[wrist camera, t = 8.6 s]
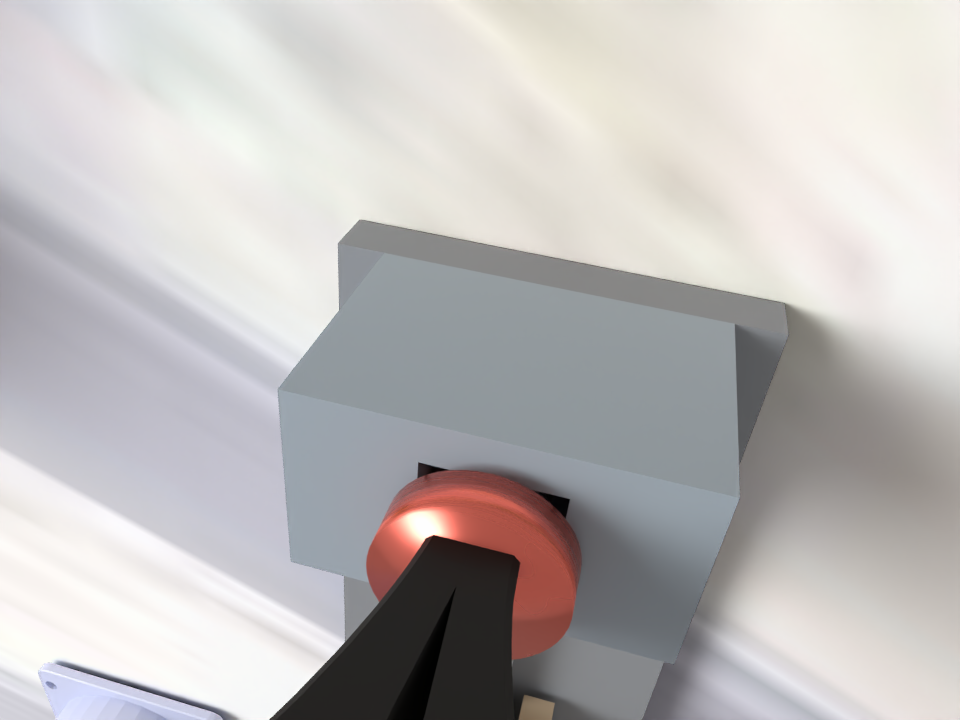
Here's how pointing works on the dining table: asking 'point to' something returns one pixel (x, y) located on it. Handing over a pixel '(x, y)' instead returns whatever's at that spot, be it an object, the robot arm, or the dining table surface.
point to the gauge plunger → (488, 545)
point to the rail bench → (534, 431)
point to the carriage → (536, 709)
